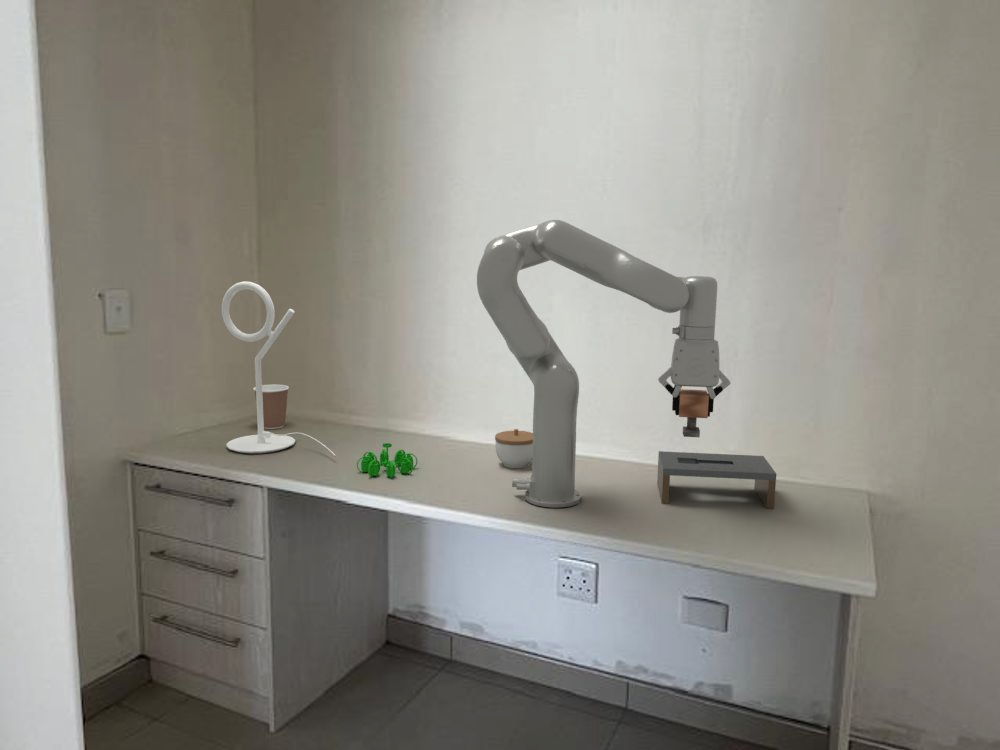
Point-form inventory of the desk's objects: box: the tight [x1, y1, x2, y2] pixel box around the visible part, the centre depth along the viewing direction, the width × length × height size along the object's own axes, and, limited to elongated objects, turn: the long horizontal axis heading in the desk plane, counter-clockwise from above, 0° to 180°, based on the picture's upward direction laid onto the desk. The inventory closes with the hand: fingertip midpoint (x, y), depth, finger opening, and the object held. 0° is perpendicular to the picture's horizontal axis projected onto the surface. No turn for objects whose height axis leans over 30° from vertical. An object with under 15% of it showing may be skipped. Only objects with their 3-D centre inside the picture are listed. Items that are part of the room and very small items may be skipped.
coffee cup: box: [252, 384, 290, 430], centre depth 237 cm, size 10×10×12 cm
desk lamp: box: [221, 280, 337, 458], centre depth 210 cm, size 37×18×45 cm, turn 73°
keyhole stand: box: [656, 451, 777, 510], centre depth 179 cm, size 24×14×8 cm, turn 83°
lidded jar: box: [494, 428, 533, 469], centre depth 201 cm, size 11×11×9 cm
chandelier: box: [356, 442, 418, 479], centre depth 195 cm, size 15×15×7 cm
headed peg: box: [678, 388, 709, 438], centre depth 174 cm, size 6×6×10 cm
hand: (692, 413), depth 174 cm, fingers closed on headed peg, 6 cm apart
